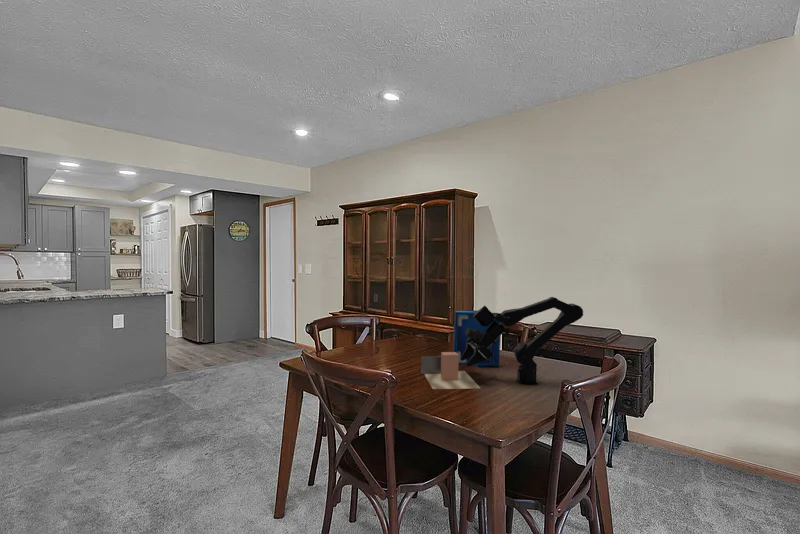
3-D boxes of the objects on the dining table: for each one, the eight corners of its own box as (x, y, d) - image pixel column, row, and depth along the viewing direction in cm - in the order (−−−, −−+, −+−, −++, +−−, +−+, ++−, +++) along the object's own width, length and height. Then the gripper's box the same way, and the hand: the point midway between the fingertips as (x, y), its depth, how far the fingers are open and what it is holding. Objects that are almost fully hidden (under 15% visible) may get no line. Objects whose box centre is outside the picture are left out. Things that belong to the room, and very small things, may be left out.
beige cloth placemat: (464, 373, 181) (464, 370, 181) (480, 390, 157) (480, 388, 157) (422, 373, 179) (422, 371, 179) (432, 391, 155) (432, 388, 155)
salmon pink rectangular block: (455, 376, 172) (455, 352, 172) (458, 380, 167) (458, 354, 167) (440, 376, 171) (441, 352, 171) (443, 380, 166) (443, 355, 166)
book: (499, 364, 197) (500, 310, 197) (501, 368, 190) (502, 312, 190) (452, 362, 199) (453, 309, 199) (453, 366, 192) (454, 311, 192)
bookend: (448, 371, 179) (449, 355, 179) (450, 373, 176) (450, 356, 176) (420, 372, 178) (421, 355, 178) (421, 373, 175) (422, 357, 175)
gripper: (470, 317, 179) (445, 344, 178) (484, 324, 160) (455, 354, 159) (488, 335, 180) (463, 362, 179) (504, 344, 161) (475, 374, 160)
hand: (463, 362), depth 169 cm, fingers open, 9 cm apart
